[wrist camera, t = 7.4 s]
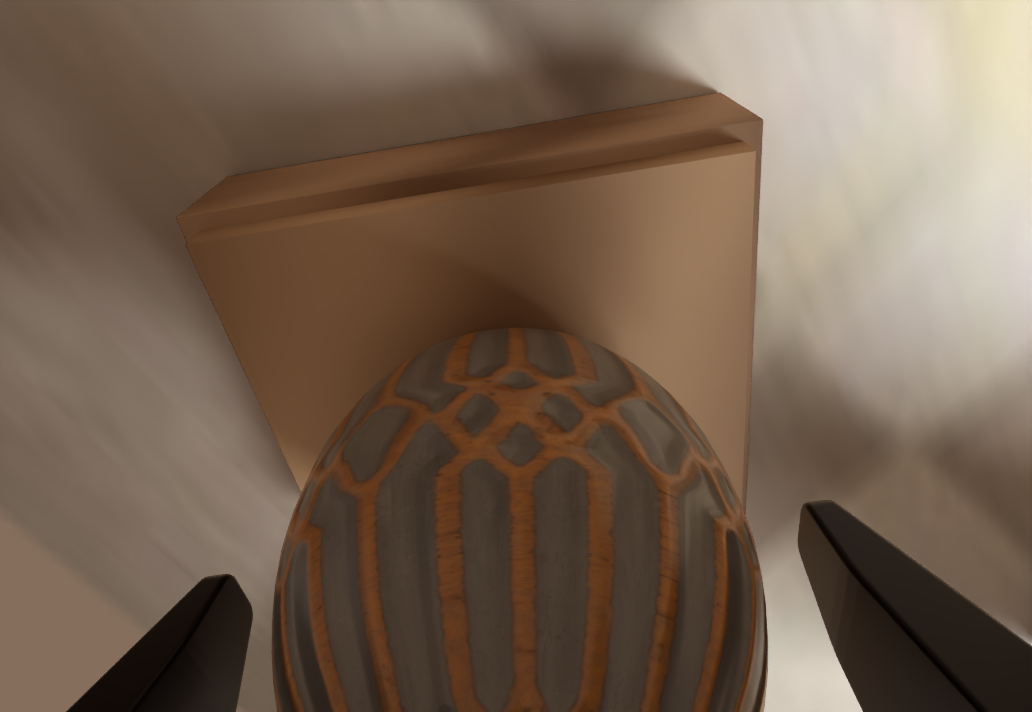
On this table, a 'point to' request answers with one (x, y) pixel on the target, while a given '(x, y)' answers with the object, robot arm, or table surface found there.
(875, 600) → the robot arm
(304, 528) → the vase
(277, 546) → the table surface
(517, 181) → the plinth
